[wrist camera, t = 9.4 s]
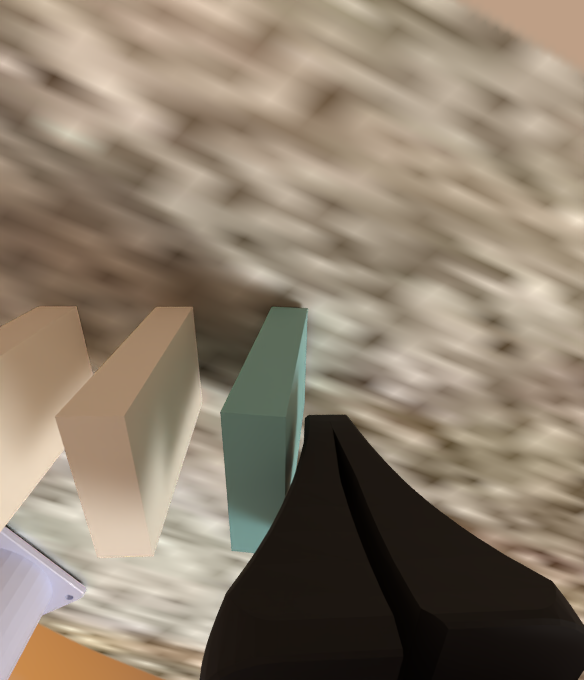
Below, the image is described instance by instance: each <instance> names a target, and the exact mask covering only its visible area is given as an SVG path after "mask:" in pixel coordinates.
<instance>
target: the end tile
mask: <svg viewBox="0 0 584 680" xmlns="http://www.w3.org/2000/svg"><path fill="white" fill-rule="evenodd" d="M307 313H308V308H290V307H271V309H270V311H269V313H268V315H267V317H266V319H265V322H264V324H263V326H262V328H261V330H260V332H259V334H258V336H257V338H256V340H255V342H254V344H253V346H252V348H251V350H250V352H249V354H248V356H247V359H246V361H245V363H244V365H243V367H242V369H241V371H240V373H239V375H238V377H237V379H236V381H235V383H234V385H233V387H232V389H231V391H230V393H229V395H228V398H227V400H226V402H225V404H224V406H223V408H222V410H221V412H220V414H221V426H222V438H223V451H224V463H225V475H226V488H227V500H228V512H229V525H230V537H231V549H232V551H239V552H248V553H255V552H256V550H257V548H258V547H259V545H260V544H261V542H262V540H263V539H264V537H265V535H266V534H267V532H268V530H269V529H270V527H271V525H272V523H273V521H274V519H275V517H276V515H277V514H278V512H279V510H280V508H281V506H282V504H283V501H284V499H285V497H286V495H287V492H288V490H289V488H290V485H291V483H292V480H293V477H294V474H295V472H296V465H297V457H298V449H299V442H300V434H301V426H302V419H303V411H304V402H305V372H306V342H307Z"/></svg>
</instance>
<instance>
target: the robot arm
mask: <svg viewBox="0 0 584 680" xmlns="http://www.w3.org/2000/svg"><path fill="white" fill-rule="evenodd" d="M85 592H86V587H85V586H84V585H82V584H81V583H80V582H78V581H77V580H76V579H74V578H73V577H72V576H70V575H69V574H68V573H67V572H65V571H64V570H63V569H61V568H60V567H59V566H57V565H56V564H55V563H53V562H52V561H51V560H49V559H48V558H47V557H45V556H44V555H43V554H41V553H40V552H39V551H37V550H36V549H35V548H33V547H32V546H31V545H29V544H28V543H27V542H25V541H24V540H23V539H21V538H20V537H19V536H17V535H16V534H15V533H14V532H12V531H11V530H10V529H8V528H7V527H6V526H5V527H4V528H3V529H2V531H1V532H0V680H8V679H9V677H10V675H11V673H12V671H13V669H14V667H15V665H16V663H17V662H18V660H19V658H20V656H21V654H22V652H23V650H24V648H25V646H26V644H27V643H28V641H29V639H30V637H31V635H32V633H33V631H34V629H35V628H36V626H37V624H38V622H39V620H40V618H41V616H42V615H44V614H46V613H49V612H51V611H53V610H55V609H58V608H60V607H62V606H64V605H67V604H69V603H71V602H73V601H76V600H78V599H80V598H82V597H83V596H84V594H85ZM583 671H584V625H583V623H582V622H581V620H580V619H579V617H578V616H577V614H576V613H575V611H574V610H573V608H572V607H571V605H570V604H569V602H568V601H567V600H566V598H565V597H564V596H563V594H562V593H561V592H560V591H559V589H558V588H557V587H556V585H555V584H554V583H553V582H552V581H551V580H549V579H547V578H545V577H544V576H542V575H540V574H538V573H536V572H535V571H533V570H531V569H529V568H527V567H526V566H524V565H522V564H520V563H518V562H517V561H515V560H513V559H511V558H509V557H508V556H506V555H504V554H503V553H501V552H499V551H498V550H496V549H495V548H493V547H491V546H490V545H488V544H487V543H485V542H484V541H482V540H480V539H479V538H477V537H476V536H474V535H473V534H471V533H470V532H468V531H467V530H465V529H464V528H462V527H461V526H460V525H458V524H457V523H455V522H454V521H453V520H451V519H450V518H449V517H447V516H446V515H445V514H443V513H442V512H440V511H439V510H438V509H437V508H435V507H434V506H433V505H432V504H430V503H429V502H428V501H427V500H425V499H424V498H423V497H422V496H421V495H420V494H418V493H417V492H416V491H415V490H414V489H413V488H411V487H410V486H409V485H408V484H407V483H406V482H405V481H404V480H403V479H402V478H401V477H400V476H399V475H398V474H397V473H396V472H395V471H394V470H393V469H392V468H391V467H390V466H389V465H388V464H387V463H386V462H385V461H384V460H383V458H382V457H381V456H380V455H379V454H378V453H377V452H376V451H375V449H374V448H373V447H372V446H371V445H370V444H369V443H368V441H367V440H366V439H365V438H364V436H363V435H362V434H361V433H360V432H359V430H358V429H357V428H356V426H355V425H354V424H353V423H352V421H351V420H350V419H349V417H348V416H347V415H308V416H307V417H306V418H305V428H304V444H303V448H302V452H301V456H300V460H299V463H298V466H297V469H296V472H295V474H294V477H293V480H292V483H291V485H290V488H289V490H288V492H287V495H286V497H285V499H284V501H283V504H282V506H281V508H280V510H279V512H278V514H277V515H276V517H275V519H274V521H273V523H272V525H271V527H270V529H269V530H268V532H267V534H266V535H265V537H264V539H263V540H262V542H261V544H260V545H259V547H258V548H257V550H256V552H255V553H254V555H253V556H252V558H251V559H250V561H249V562H248V564H247V565H246V567H245V568H244V569H243V571H242V572H241V573H240V575H239V576H238V578H237V579H236V580H235V582H234V583H233V584H232V586H231V587H230V588H229V590H228V591H227V593H226V594H225V597H224V600H223V602H222V604H221V607H220V609H219V612H218V614H217V617H216V619H215V622H214V625H213V627H212V630H211V633H210V636H209V639H208V642H207V645H206V649H205V653H204V657H203V661H202V666H201V673H200V680H578V678H579V677H580V675H581V674H582V672H583Z"/></svg>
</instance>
